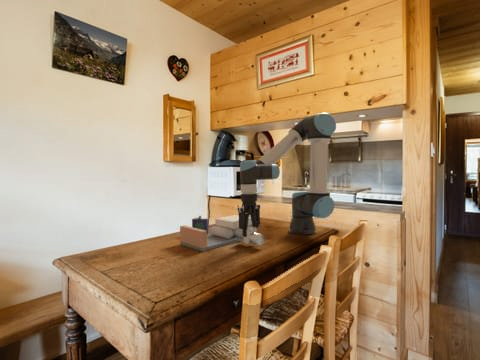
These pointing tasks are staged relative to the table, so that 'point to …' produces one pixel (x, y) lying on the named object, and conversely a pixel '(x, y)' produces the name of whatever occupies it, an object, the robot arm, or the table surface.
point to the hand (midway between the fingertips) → (250, 241)
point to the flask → (200, 223)
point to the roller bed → (208, 237)
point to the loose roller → (251, 237)
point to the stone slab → (230, 221)
